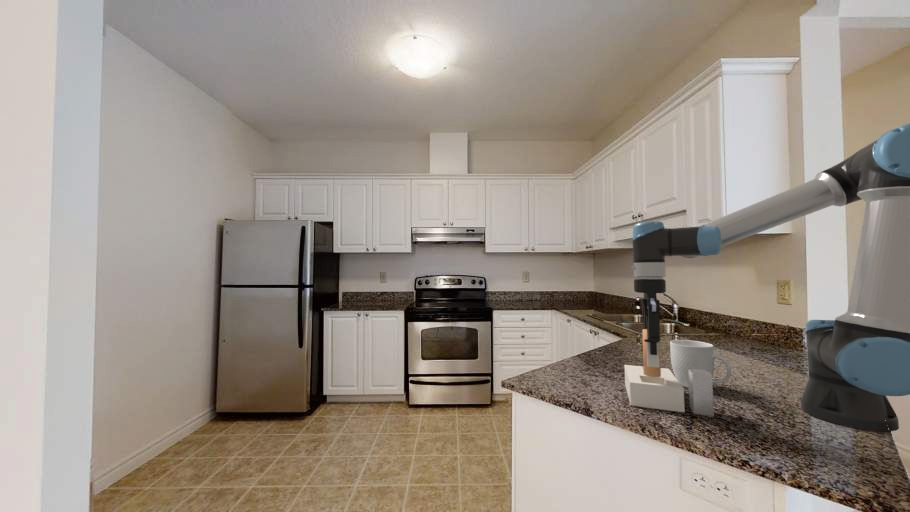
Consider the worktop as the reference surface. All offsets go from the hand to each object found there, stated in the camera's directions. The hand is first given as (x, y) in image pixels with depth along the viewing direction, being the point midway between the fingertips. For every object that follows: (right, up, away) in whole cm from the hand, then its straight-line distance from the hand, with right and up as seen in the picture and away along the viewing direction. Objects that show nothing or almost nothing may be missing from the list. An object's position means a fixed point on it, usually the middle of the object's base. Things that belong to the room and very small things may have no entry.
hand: (651, 364), depth 90 cm
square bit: (+8, -10, -7) cm, 15 cm away
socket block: (+2, -10, +4) cm, 11 cm away
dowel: (0, -3, 0) cm, 3 cm away
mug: (+20, -11, +11) cm, 26 cm away
